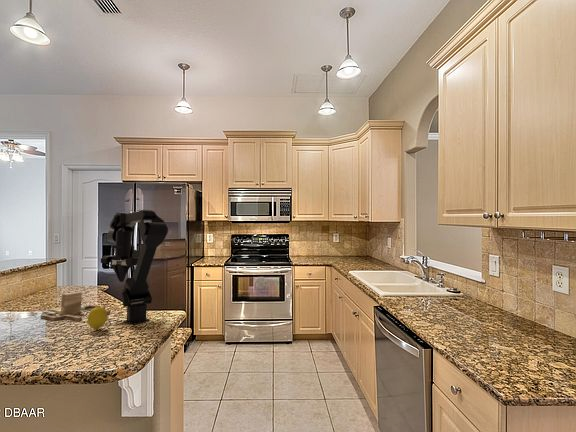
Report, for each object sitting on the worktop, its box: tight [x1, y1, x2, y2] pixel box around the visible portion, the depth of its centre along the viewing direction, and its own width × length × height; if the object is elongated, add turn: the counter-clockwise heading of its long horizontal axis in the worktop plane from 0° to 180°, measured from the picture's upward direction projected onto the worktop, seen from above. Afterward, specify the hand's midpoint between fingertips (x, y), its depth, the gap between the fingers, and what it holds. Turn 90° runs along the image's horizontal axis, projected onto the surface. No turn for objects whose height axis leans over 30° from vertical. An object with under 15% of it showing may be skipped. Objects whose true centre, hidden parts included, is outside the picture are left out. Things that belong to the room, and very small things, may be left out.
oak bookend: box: [48, 291, 83, 316], centre depth 125 cm, size 11×6×8 cm, turn 66°
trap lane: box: [40, 304, 111, 322], centre depth 122 cm, size 23×20×1 cm
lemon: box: [87, 305, 108, 331], centre depth 102 cm, size 6×6×8 cm
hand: (121, 281), depth 122 cm, fingers closed
